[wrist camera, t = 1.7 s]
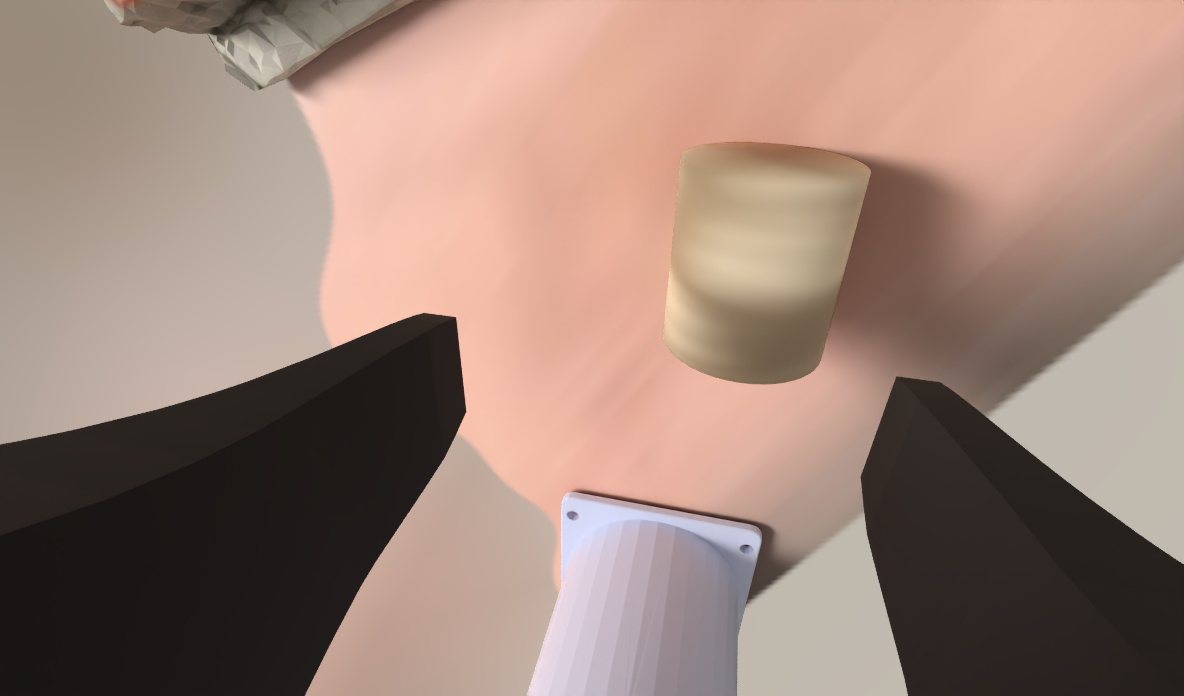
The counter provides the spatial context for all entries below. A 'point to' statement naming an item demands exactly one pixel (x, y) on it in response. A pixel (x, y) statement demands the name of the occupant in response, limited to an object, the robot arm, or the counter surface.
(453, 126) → the counter surface
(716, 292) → the roller
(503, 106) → the counter surface
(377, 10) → the packaged product
